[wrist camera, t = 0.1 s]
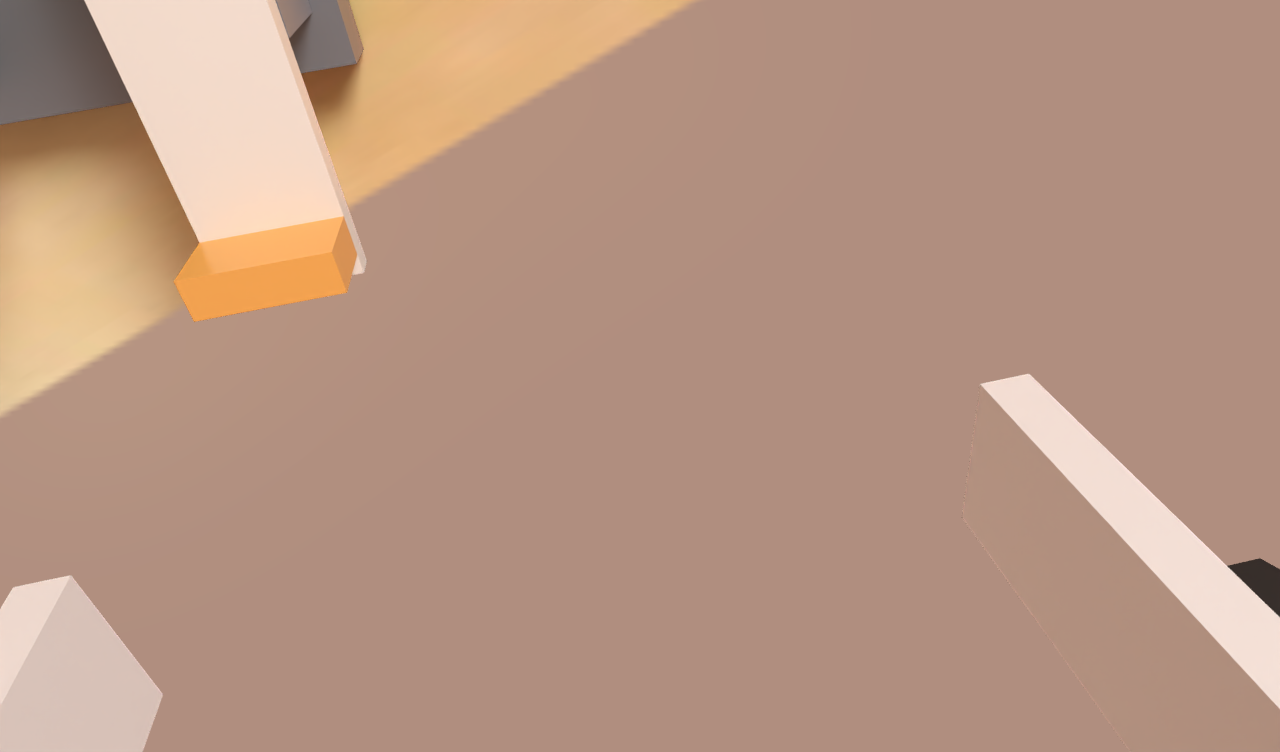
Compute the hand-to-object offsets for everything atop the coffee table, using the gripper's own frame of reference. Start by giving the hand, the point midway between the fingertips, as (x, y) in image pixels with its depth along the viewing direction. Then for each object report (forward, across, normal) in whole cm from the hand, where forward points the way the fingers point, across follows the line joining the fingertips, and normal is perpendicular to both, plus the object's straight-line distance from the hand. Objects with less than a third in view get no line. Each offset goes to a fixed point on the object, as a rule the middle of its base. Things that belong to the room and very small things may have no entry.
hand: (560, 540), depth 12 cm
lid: (+21, -9, +4) cm, 23 cm away
